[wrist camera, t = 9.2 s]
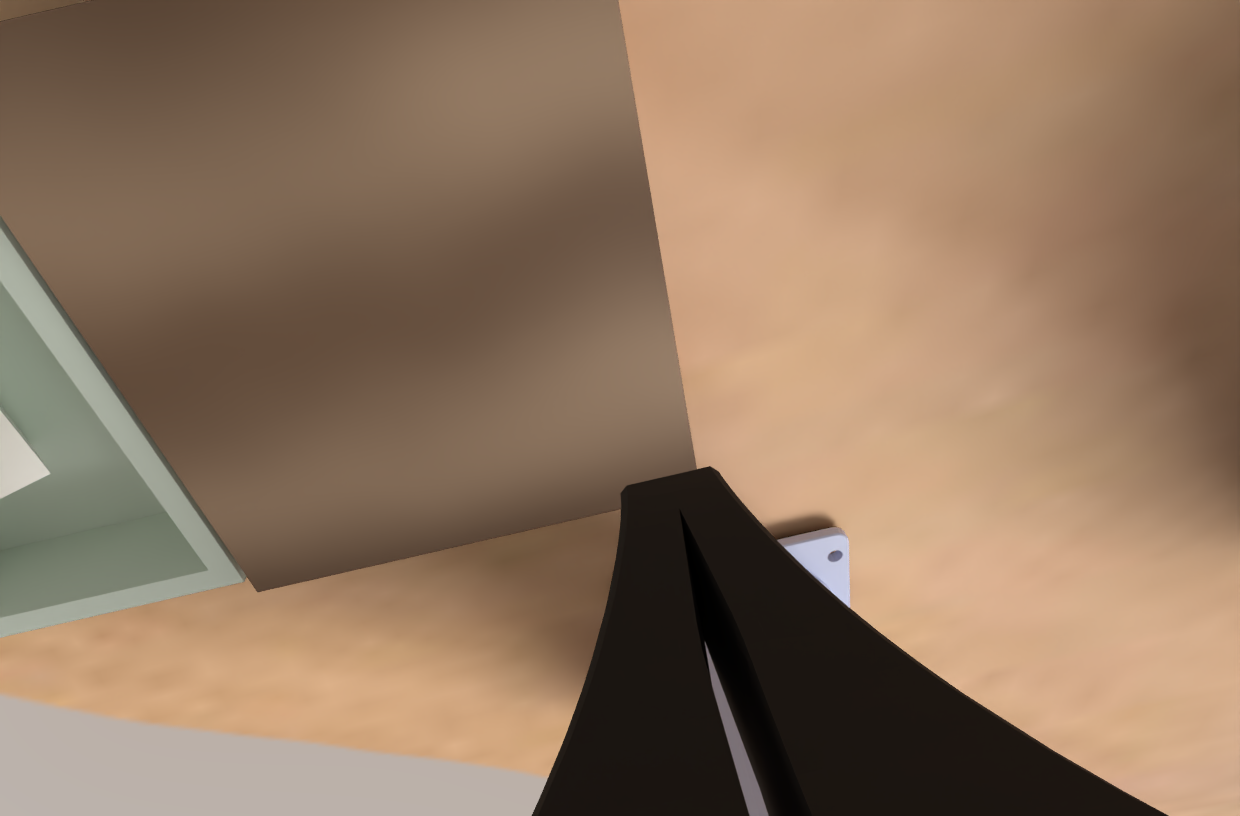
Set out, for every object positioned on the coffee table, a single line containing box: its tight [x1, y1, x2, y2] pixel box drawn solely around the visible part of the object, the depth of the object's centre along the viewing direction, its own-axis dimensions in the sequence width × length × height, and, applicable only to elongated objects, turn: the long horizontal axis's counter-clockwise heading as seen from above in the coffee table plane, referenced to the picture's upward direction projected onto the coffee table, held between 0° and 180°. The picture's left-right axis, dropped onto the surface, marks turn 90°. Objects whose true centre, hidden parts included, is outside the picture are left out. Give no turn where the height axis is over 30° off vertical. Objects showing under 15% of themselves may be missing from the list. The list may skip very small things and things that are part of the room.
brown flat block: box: [0, 0, 697, 592], centre depth 15 cm, size 12×11×4 cm
